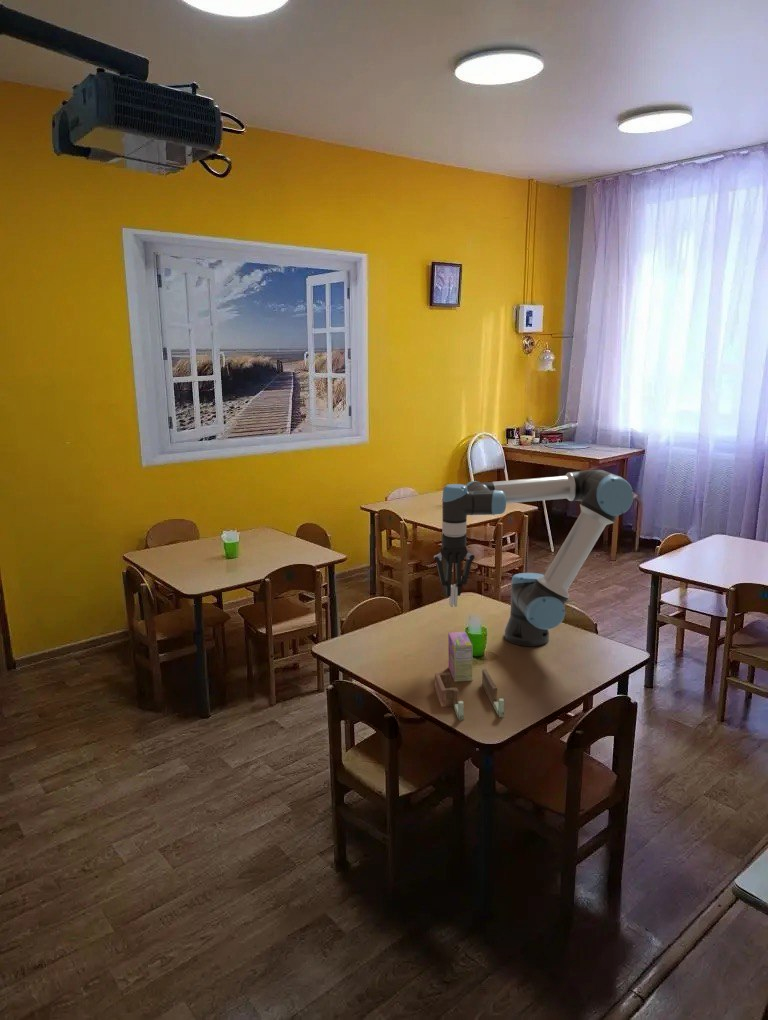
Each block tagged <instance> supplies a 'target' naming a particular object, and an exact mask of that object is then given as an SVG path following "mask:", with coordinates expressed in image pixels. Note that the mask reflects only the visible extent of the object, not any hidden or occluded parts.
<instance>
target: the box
mask: <svg viewBox="0 0 768 1020" xmlns="http://www.w3.org/2000/svg"><path fill="white" fill-rule="evenodd" d="M447 635H448V646H447V647H448V649H447V650H448V669H449V672H450V674H451V678H452V679H453V682H454V683H455V682H456V683H457V682H471V681H473V660H474V659H473V655H474V653H473V652H474V650H473V648H474V647H473V645H474V644H473V643H472V641H471V640H470V638H469V636H468V634H467V632H466V631H457V632H456V631H455V632H453V631H452V632H448V634H447Z"/></svg>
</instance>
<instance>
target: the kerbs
mask: <svg viewBox="0 0 768 1020" xmlns="http://www.w3.org/2000/svg"><path fill="white" fill-rule="evenodd" d="M464 703H465V702H464V701H463V700H460V701H459V700H458V704H454V707H453V708H454V712H455V714H456V717H457V719H458V721H464V708H465V707H464ZM493 708H494V711H495V712H496V714H497V715H498V717H499V718H505V717H504V716H505V714H504V713H505V700H504V698H498V701H497V702H494V705H493Z"/></svg>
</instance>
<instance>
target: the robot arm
mask: <svg viewBox="0 0 768 1020" xmlns="http://www.w3.org/2000/svg"><path fill="white" fill-rule="evenodd" d="M563 499H567V500H568V501H570V502H575V501H576V502H577V501H578V502H580V503H579V507H580V513H579V515H578V517H577V519H576V520H575V522H574V524H573V526H572V527H571V529H570V531H569V532H568V535H567V536H566V538H565V540H563V543H562V545H561V546H560V548H559V550H558V552H557V554H555V557H554V559H552V562H551V563H550V565H549V567H548V568H547V569H546V572H545V574H542V573H538V572H537V573H536V572H521V573H520V572H519V573H516V574H513V575H512V576H511V577H512V578H511V582H510V585H511V586H510V615H509V619H508V621H507V623H506V625H505V628H504V639H505V640H506V641H508V642H509V643H511V644H513V645H518V646H523V647H538V646H543V645H546V644H547V643H548V642H549V640H550V632H549V631H550V630H551V629H554V628H556V627H557V626H559V625H560V624H561V623H562V622H563V621H564V619H565V617H566V616H565V615H566V608H565V605H566V603H567V601H569V598H570V594H569V588H570V586H572V583H573V582H574V580H575V578H576V577H577V575H578V574H579V572H580V570H581V568H583V567H582V566H583V565H584V563H585V562H586V561H587V560H586V559H588V556H589V555H590V553H591V551H592V550H593V548H594V546H595V545H596V543H597V542H598V540H599V538H600V536H601V535H602V533H603V531H604V530H605V528H606V526H607V525H611V524H614V523H615V521H616V519H617V517H618V516H620V515H623V514H625V513H627V512H628V511H629V510H630V508H631V507H632V505H633V501H634V489H633V488H632V485H631V484H630V482H629V481H627V480H626V479H625V478H623V477H622V476H620V475H617V474H615V473H611V472H609V471H606V470H603V469H587V470H586V469H585V470H579V471H569V472H567V473H566V474H565V475H558V476H556V475H555V476H545V477H535V478H522V479H511V480H500V481H499V480H498V481H486V482H481V481H479V480H477V481H476V480H473V481H469V482H467V484H461V483H459V484H458V483H451V484H446V485H444V487H443V489H442V499H441V500H442V505H441V506H442V507H441V508H442V509H441V510H442V520H441V521H442V523H441V526H442V528H441V529H442V531H441V532H442V535H441V549H440V552H439V553H438V554H434V555H433V559H434V560H435V562H436V567H437V571H438V577H439V581H440V583H441V585H442V586H445V594H446V596H447V597H448V604H449V606H450V608H454V607H456V608H457V607H458V597H460V596H461V595H462V592H461V590H462V587H463V585H467V584H468V578H469V574H470V571H471V568H472V567H471V566H472V563H473V561H474V559H475V555H474V554H473V553H472V552H469V551H468V549H467V535H466V534H467V519H468V517H467V516H489V515H490V516H495V515H501V514H504V513H505V511H506V507H507V504H513V503H514V504H515V503H517V504H518V503H526V502H537V501H538V502H539V501H540V502H541V501H552V500H553V501H554V500H563ZM442 558H443V559H444V560H445V562H446V575H445V574H444V570H443V565H442V562H441V561H442ZM464 559H465V563H464V568H463V572H462V562H463V560H464ZM454 564H455V565H454ZM453 565H454V566H455V583H454V584H452V575H453Z"/></svg>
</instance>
